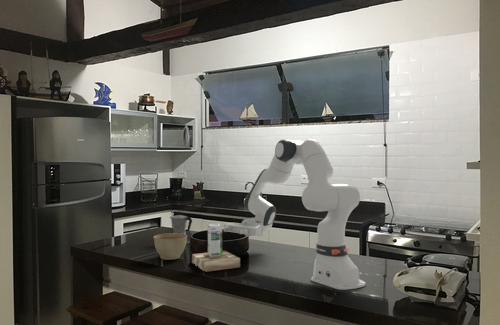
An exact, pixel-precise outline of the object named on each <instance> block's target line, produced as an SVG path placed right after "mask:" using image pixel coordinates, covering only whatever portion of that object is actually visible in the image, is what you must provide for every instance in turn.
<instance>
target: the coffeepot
mask: <svg viewBox="0 0 500 325" xmlns="http://www.w3.org/2000/svg"><path fill="white" fill-rule="evenodd" d="M181 213H182V211H178V212H177V215H172V216H169V218H170V219H171V220H170V221H171V226H172V230H173V231H172V233H177V234H185V235H187V232H189V231H190V229H191V226H192V223H193V219H192V218H191V216H186V215H182V214H181ZM187 222H188V223H187ZM187 224H188V226H187ZM186 228H187V229H186ZM186 242H187V243H188V238H187V239H186Z"/></svg>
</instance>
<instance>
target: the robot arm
mask: <svg viewBox="0 0 500 325" xmlns="http://www.w3.org/2000/svg"><path fill="white" fill-rule="evenodd" d="M294 165H303V167H304V170H305V172H306V176H307V179H308V184H307V186H306V187H305V188H304V190H303V192H302V194H301V201H302V204H303V206H304V208H305V209H306V210H308V211H312V212H313V211H314V212H327V214H326V216H325V217H324V219H323V220H321V221H319V222H318V225H317V232H316V233H317V236H316V237H317V238H316V241H317V243H316V245H315V252H316V256H315V259H314V261H313V263H314V264H313V273H312V276H311V279H310V280H311V281H312V282H314V283H317V284H319V285H320V284H321V285H324V286H327V287H330V288H332V289H335V290H341V291H344V290H347V291H348V290H354V289H359V288H363V287H365V286H366V282H365V281H364V280H362V279H360V272H359V271H360V270H359V268H358V267H357V265H355V263H354V262H353V261H352V260H351V258H350V257H349V255H348V252H350V250H349V249H350V248H347V245H346V244H345V238H346V237H345V236H346V225H347V222H348V218H349V216H350V215H351V213H352V212H353V210H354V209H355V208H357V207H358V206H359V203H360V201H361V200H360V199H361V194H360V190H359V189H358V188H357V187H356V186H355V185H351V184H346V183H333V184H332V183H330V182H329V180H330V179H331V178H332V176H333V172H334V169H333V166H332V164H331V162H330V159H329V158H328V155H327V153H326V152H325V149H324V148H323V147H322V145H321V144H320V142H318V141H317V140H316V139H314V138H313V139H312V138H309V139H306V140H304V141H303V140H299V139H298V140H297V139H288V138H287V139H281V140H279V141H278V142H277V143H276V145H275V147H274V156H273V157H272V159H271V161H270V164H269V166H268V168H265V169H263V170H262V171H261V172H260V173H259V175H258V176H257V178H256V180H255V182H254V183H253V185H252V188H251V189H250V191H249V192H248V194H247V195H246V196H245V198H244V200H243V206H244V207H243V208H244V209H245V210H246V211H248V212H250V213H252V214H253V215H254V216H255V217H250V218H245V219H243V220H242V221H241V223H239V222H227V223H224V224H223V232H224V233H225V232H230V233H235V234H236V233H237V234H239V235H245V237H253V236H258V237H259V236H263V235H264V233H266V232H268V231H269V230H270V229H271V228H272V226H273V222H274V221H275V219H276V216H277V209H276V206H274V205H273V204H272V203H271V202H269V201H268V200H267V199H264V198H263V197H262V196H261V192H262V191H263V189H264V187H265V186H266V184H267V183H270V184H274V185H275V184H277V185H278V184H283V183H285V182H287V181H288V180H289V178H290V176H291V174H292V172H293V169H294Z"/></svg>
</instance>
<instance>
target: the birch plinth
mask: <svg viewBox="0 0 500 325" xmlns="http://www.w3.org/2000/svg"><path fill="white" fill-rule="evenodd" d="M191 263H192V264H193V265H194V264H195V265H194V266H196V267H197V266H198V268H199V269H200V270H202V271H203V272H204V271H205V272H206V273H207V272H213V271H214V272H215V271H221V270H229V269H231V270H232V269H236V268H238V269H239V268H241V258H240V257H239V256H237V255H235V254H232V253H231V252H228V251H227V250H222V256H219V257H210V256H209V255H208V252H202V253H201V252H200V253H192V254H191Z"/></svg>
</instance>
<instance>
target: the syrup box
mask: <svg viewBox="0 0 500 325" xmlns="http://www.w3.org/2000/svg"><path fill="white" fill-rule="evenodd" d="M222 251H223V225H222V223H208V224H207V253H208V255H209V256H210V257H219V256H222Z"/></svg>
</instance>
